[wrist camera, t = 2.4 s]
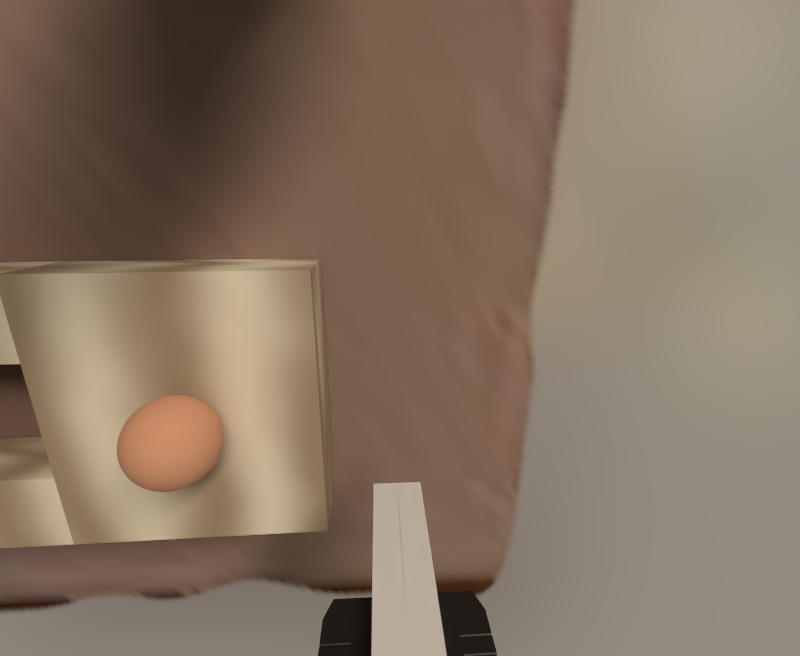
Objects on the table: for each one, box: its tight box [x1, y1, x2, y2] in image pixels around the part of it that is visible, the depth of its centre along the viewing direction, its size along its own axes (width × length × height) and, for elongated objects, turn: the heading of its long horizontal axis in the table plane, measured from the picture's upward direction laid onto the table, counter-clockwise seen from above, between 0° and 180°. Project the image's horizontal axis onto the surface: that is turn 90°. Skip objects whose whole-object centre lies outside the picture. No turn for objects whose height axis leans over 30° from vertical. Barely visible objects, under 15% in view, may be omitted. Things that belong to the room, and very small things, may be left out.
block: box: [0, 258, 334, 548], centre depth 21 cm, size 22×14×4 cm, turn 90°
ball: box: [117, 395, 224, 492], centre depth 18 cm, size 4×4×4 cm
